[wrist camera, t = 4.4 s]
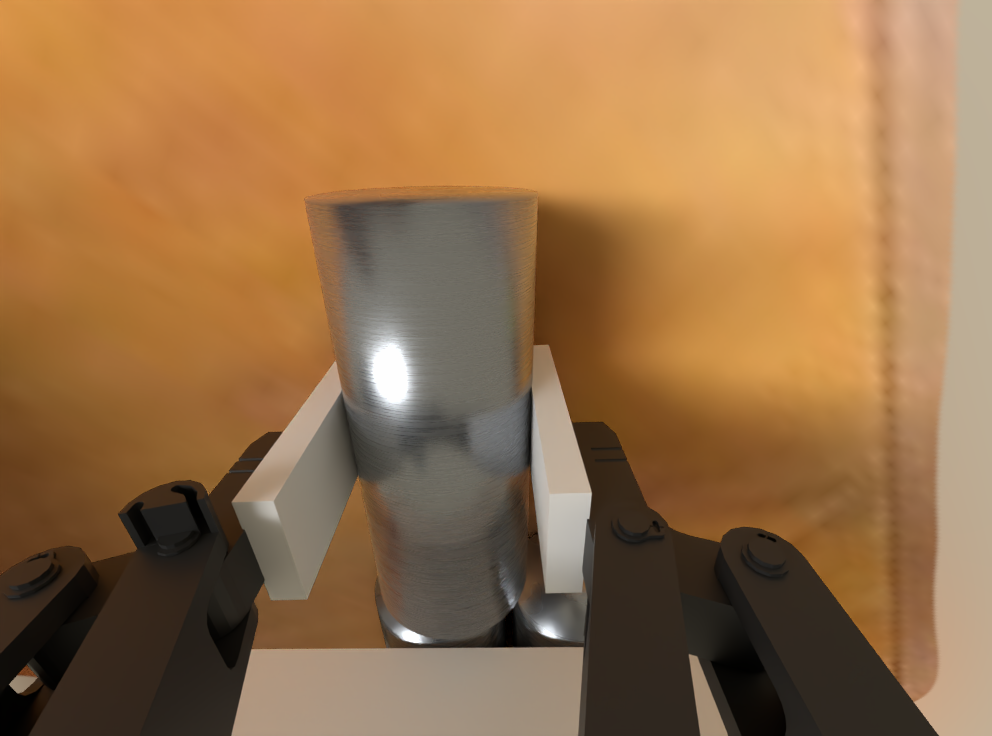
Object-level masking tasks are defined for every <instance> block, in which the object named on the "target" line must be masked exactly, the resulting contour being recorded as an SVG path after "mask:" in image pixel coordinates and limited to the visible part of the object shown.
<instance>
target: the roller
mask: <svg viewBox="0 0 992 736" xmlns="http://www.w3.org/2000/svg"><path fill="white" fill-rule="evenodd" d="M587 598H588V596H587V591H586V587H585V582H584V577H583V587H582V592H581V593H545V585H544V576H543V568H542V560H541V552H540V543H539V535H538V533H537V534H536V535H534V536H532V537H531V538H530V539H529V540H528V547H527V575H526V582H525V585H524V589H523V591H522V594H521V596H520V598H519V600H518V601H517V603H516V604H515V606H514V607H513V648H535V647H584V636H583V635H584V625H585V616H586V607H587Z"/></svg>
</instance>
